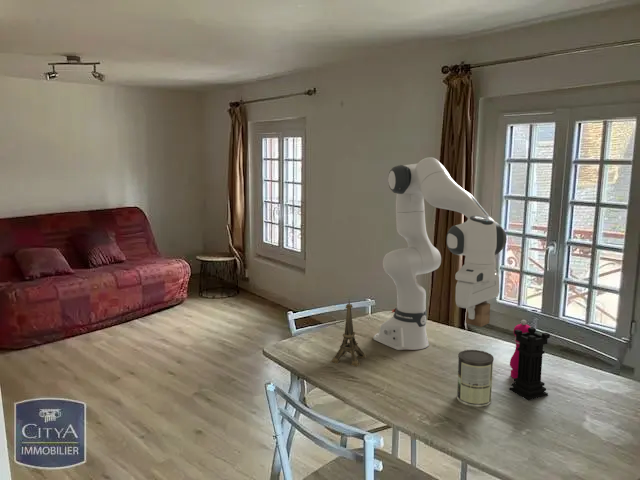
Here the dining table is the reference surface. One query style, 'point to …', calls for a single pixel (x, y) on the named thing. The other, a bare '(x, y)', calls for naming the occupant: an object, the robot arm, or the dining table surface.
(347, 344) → the eiffel tower
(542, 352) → the chess piece
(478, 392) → the coffee can
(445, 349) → the dining table surface
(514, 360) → the pepper mill
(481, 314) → the walnut block
